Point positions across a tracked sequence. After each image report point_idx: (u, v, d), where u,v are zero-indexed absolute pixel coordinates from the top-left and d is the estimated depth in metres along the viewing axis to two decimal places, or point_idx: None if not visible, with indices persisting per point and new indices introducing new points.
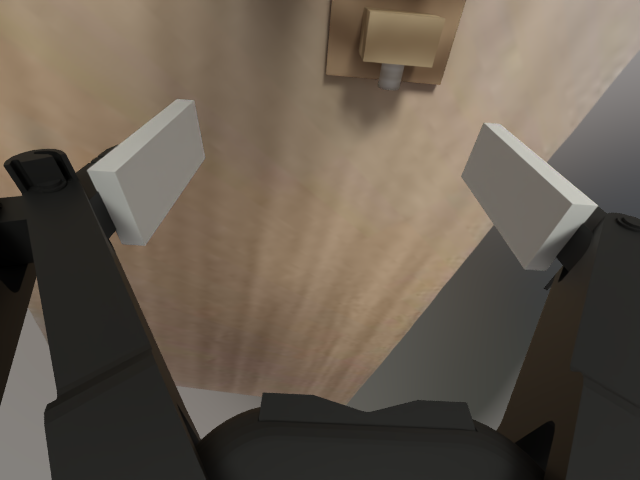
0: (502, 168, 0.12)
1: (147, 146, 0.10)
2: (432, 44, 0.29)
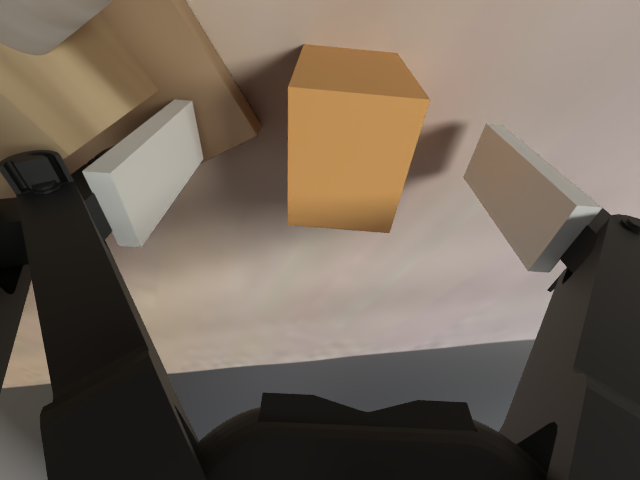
0: (505, 169, 0.12)
1: (143, 147, 0.10)
2: None
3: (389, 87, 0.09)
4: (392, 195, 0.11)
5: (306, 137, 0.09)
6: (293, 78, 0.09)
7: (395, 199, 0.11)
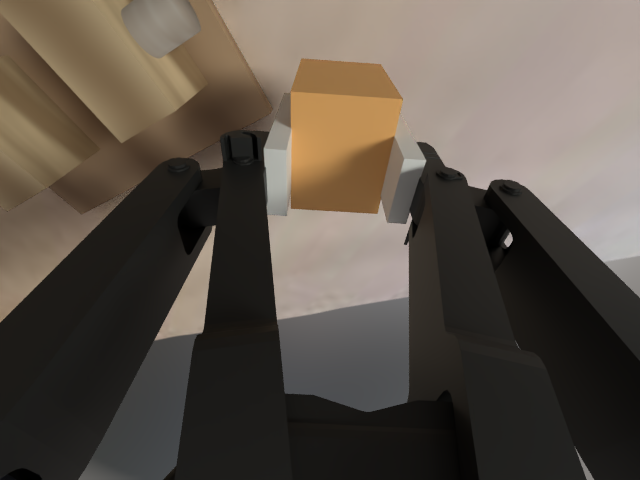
0: None
1: (291, 131, 0.12)
2: (17, 193, 0.19)
3: (371, 90, 0.11)
4: (378, 180, 0.13)
5: (305, 132, 0.12)
6: (294, 85, 0.11)
7: (380, 183, 0.13)
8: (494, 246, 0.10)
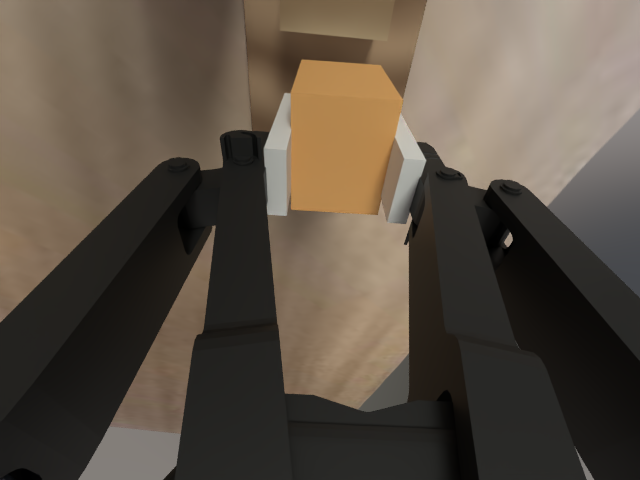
0: None
1: (291, 131, 0.12)
2: None
3: (371, 92, 0.11)
4: (378, 181, 0.13)
5: (305, 133, 0.12)
6: (294, 86, 0.11)
7: (380, 184, 0.13)
8: (494, 246, 0.10)
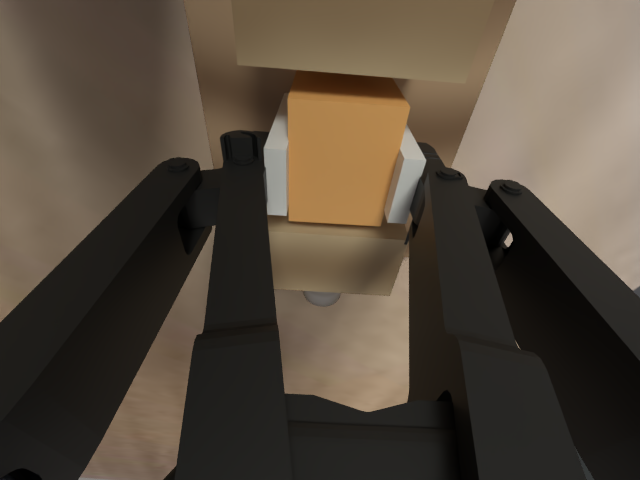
0: None
1: None
2: (387, 270, 0.15)
3: (375, 97, 0.10)
4: (381, 191, 0.12)
5: (304, 142, 0.11)
6: (291, 91, 0.10)
7: (384, 195, 0.12)
8: (494, 247, 0.10)
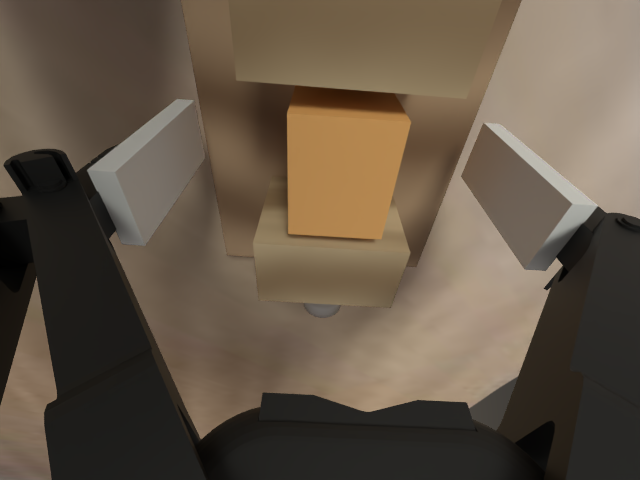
0: (502, 168, 0.12)
1: (147, 146, 0.10)
2: (388, 282, 0.15)
3: (375, 111, 0.10)
4: (382, 205, 0.12)
5: (303, 156, 0.11)
6: (291, 105, 0.10)
7: (385, 209, 0.12)
8: None
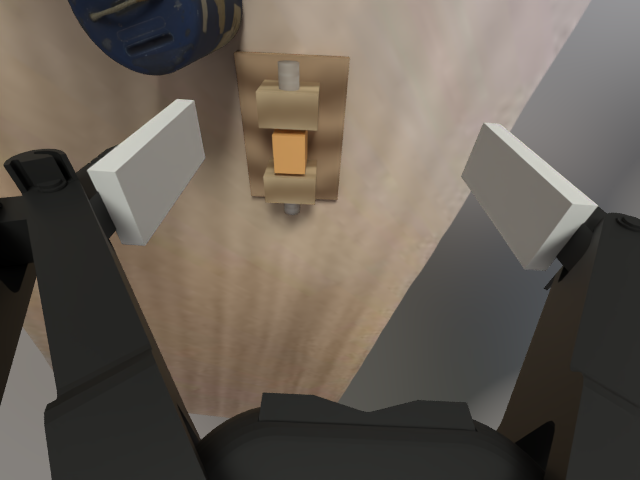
0: (502, 168, 0.12)
1: (147, 146, 0.10)
2: (311, 192, 0.42)
3: (296, 133, 0.37)
4: (302, 161, 0.39)
5: (277, 147, 0.38)
6: (273, 133, 0.37)
7: (303, 162, 0.39)
8: None
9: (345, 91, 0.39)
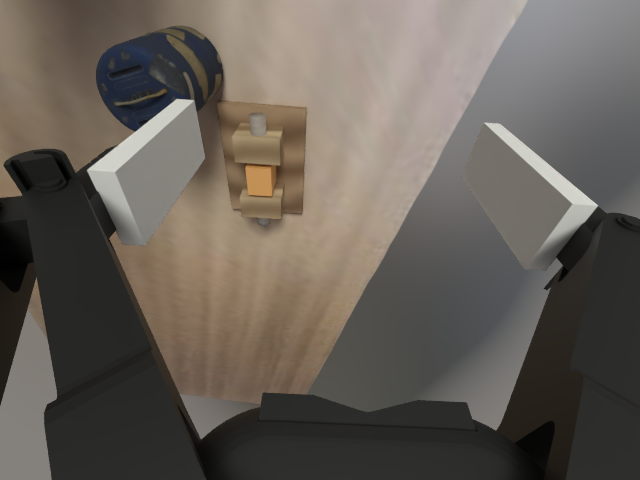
0: (502, 168, 0.12)
1: (147, 146, 0.10)
2: (277, 210, 0.53)
3: (265, 166, 0.48)
4: (269, 187, 0.50)
5: (249, 176, 0.49)
6: (246, 165, 0.48)
7: (270, 188, 0.50)
8: None
9: (304, 133, 0.50)
